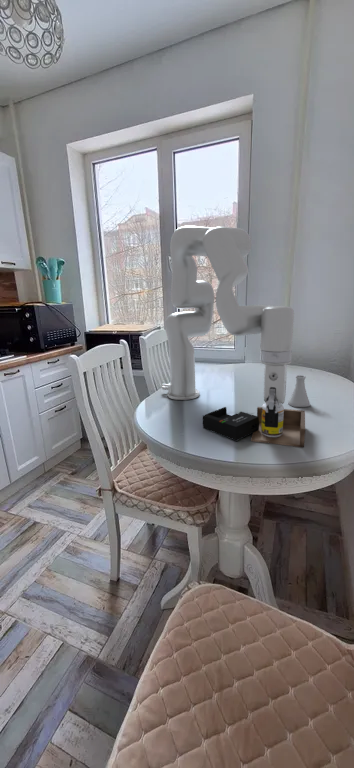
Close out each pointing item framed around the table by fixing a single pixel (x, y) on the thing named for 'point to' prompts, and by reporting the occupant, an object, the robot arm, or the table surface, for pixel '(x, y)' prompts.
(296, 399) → the flask
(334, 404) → the table surface
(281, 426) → the supplement bottle
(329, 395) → the table surface
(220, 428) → the battery charger
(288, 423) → the corner arena
